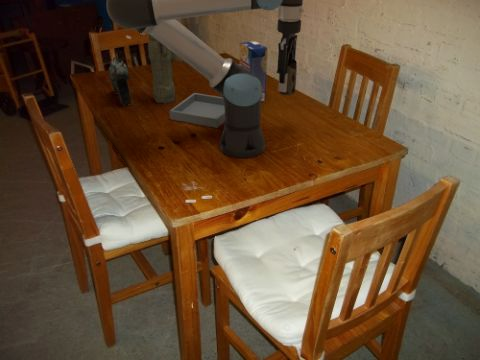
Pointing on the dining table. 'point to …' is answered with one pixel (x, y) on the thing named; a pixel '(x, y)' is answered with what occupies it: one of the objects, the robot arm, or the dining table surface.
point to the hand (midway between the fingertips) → (284, 88)
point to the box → (200, 110)
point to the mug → (291, 77)
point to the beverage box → (255, 62)
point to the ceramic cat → (120, 80)
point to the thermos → (161, 71)
